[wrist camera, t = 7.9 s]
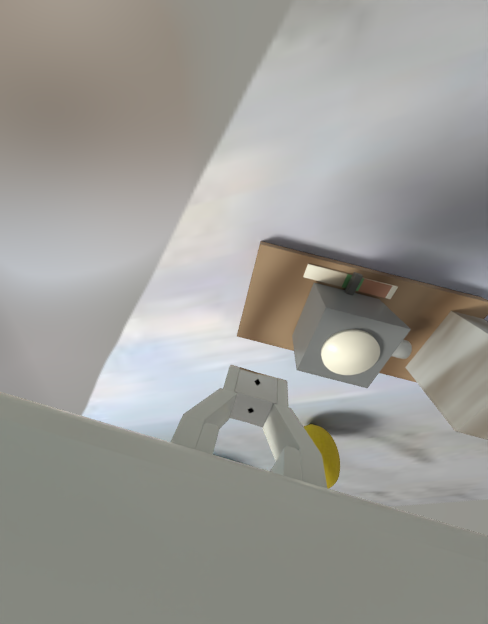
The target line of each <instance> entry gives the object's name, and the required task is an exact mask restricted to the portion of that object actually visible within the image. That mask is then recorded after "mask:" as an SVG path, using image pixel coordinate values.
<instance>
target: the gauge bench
mask: <svg viewBox="0 0 488 624" xmlns="http://www.w3.org/2000/svg"><path fill="white" fill-rule="evenodd" d="M354 272H356V273H360V274H362V275H363V278H362V280H361V281H360V283H359V285H358V287H357V289H356V291H355V293H357V294H361V295H365V296H369V297H373V298H377V299H380V300H381V301H382V302H383V303H384V304H385V305H386V306H387V307H388V308H389V309H390V310H391V311H392V312H393V313H394V314H395V315H396V316H398V317H399V318H400V319H401V320H402V321H403V322H404V323H405V324H406V325H407V326H408V327H409V328H410V329H411V330H410V331H409V333H408V334H407V335H406V337H405V338H404V339H403V340H406V341H409V342H410V344H411V346H412V351H411V354H410V356H409V357H408V358H406V359H401V358H397V357H393V356H391V357H390V358H389V360H388V361H387V362H386V364H385V365H384V366H383V368H382V369H381V371H380V372H379V373H382V374H386V375H390V376H394V377H398V378H402V379H406V380H409V381H413V382H417V383H418V384H419V386H420V387H421V388H422V389H423V391H424V392H425V393H426V395H427V396H428V397H429V398H430V400H431V401H432V402H433V403H434V405H435V406H436V407H437V409H438V410H439V411H440V412H441V414H442V415H443V416H444V418H445V419H446V420H447V421H448V423H449V424H450V425H451V426H452V428H453V429H454V430H455V431H456V432H460V433H464V434H468V435H471V436H475V437H479V438H483V439H487V440H488V321H486V320H485V319H484V318H485V317H486V316H487V315H488V300H486V299H484V298H482V297H478V296H474V295H471V294H467V293H463V292H459V291H455V290H451V289H447V288H443V287H439V286H435V285H431V284H427V283H423V282H419V281H416V280H412V279H408V278H404V277H400V276H396V275H392V274H388V273H384V272H380V271H376V270H372V269H368V268H364V267H361V266H357V265H353V264H349V263H345V262H341V261H337V260H333V259H329V258H325V257H321V256H317V255H313V254H309V253H306V252H302V251H298V250H294V249H290V248H286V247H282V246H278V245H274V244H270V243H266V242H262V241H261V242H260V246H259V250H258V254H257V258H256V262H255V266H254V270H253V274H252V278H251V282H250V286H249V290H248V294H247V298H246V302H245V306H244V310H243V314H242V318H241V322H240V325H239V329H238V333H237V336H238V337H242V338H246V339H250V340H254V341H258V342H261V343H265V344H269V345H273V346H277V347H281V348H285V349H289V350H293V351H294V346H293V339H292V335H293V332H294V330H295V327H296V325H297V323H298V320H299V318H300V315H301V313H302V310H303V308H304V305H305V303H306V301H307V298H308V296H309V293H310V291H311V288H312V286H313V284H314V283H318V284H322V285H326V286H330V287H334V288H338V289H342V290H345V289H346V287H347V285H348V283H349V281H350V279H351V277H352V275H353V273H354Z"/></svg>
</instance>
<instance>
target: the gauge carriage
mask: <svg viewBox="0 0 488 624" xmlns="http://www.w3.org/2000/svg"><path fill="white" fill-rule="evenodd" d="M362 278H363V275H362V274H360V273H356V272H354V273H353V275H352V277H351V279H350V281H349V283H348V285H347V287H346V289H345V290H342V289H338V288H334V287H330V286H326V285H322V284H318V283H314V284H313V286H312V288H311V291H310V293H309V296H308V298H307V301H306V303H305V305H304V308H303V310H302V313H301V315H300V318H299V320H298V323H297V325H296V327H295V330H294V332H293V335H292V339H293V346H294V354H295V361H296V368H297V370H298V371H302V372H306V373H310V374H314V375H318V376H322V377H326V378H330V379H333V380H337V381H341V382H345V383H349V384H353V385H357V386H361V387H365V388H368V387H369V385H370V384H371V383H372V381H373V380H374V379H375V377H376V376H377V375H378V373H379V372H380V371H381V369H382V368H383V366H384V365H385V364H386V362H387V361H388V360H389V358H390V357H391V356H393V357H397V358H401V359H406V358H408V357H409V356H410V354H411V351H412V346H411V344H410V342H409V341H406V340H403V339H404V338H405V337H406V335H407V334H408V333H409V331H410V330H411V329H410V328H409V327H408V326H407V325H406V324H405V323H404V322H403V321H402V320H401V319H400V318H399V317H398V316H396V315H395V314H394V313H393V312H392V311H391V310H390V309H389V308H388V307H387V306H386V305H385V304H384V303H383V302H382V301H381V300H380V299H377V298H373V297H369V296H365V295H361V294H357V293H355V291H356V289H357V287H358V285H359V283H360V281H361V280H362Z"/></svg>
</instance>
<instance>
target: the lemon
mask: <svg viewBox="0 0 488 624" xmlns="http://www.w3.org/2000/svg"><path fill="white" fill-rule="evenodd" d="M304 429H305V430H306V432H307V433H308V435H309V436H310V438H311V439H312V441H313V442H314V444H315V445H316V447H317V448H318V450H319V452H320V453H321V455H322V459H323V465H324V471H325V477H326V483H327V488H330V487H332V486H333V485H334V484H335V483H336V481H337V480H338V477H339V472H340V458H339V453H338V450H337V447H336V444H335V442H334V440H333V438H332V437H331V435H330V434H329V433H328V432H327V431H326V430H325V429H323V428H322V427H320V426H317V425H313V424H309V425H307V426H304Z"/></svg>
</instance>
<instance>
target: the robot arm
mask: <svg viewBox="0 0 488 624" xmlns="http://www.w3.org/2000/svg"><path fill="white" fill-rule="evenodd" d="M229 418H232V419H236V420H240V421H244V422H248V423H251V424H254V425H257V426H260V427H263V430H264V433H265V435H266V438H267V440H268V443H269V445H270V448H271V450H272V453H273V455H274V458H275V460H276V462H275V464H274V466H273V467H272V469H271V471H267V470H263V469H260V468H256V467H253V466H250V465H246V464H243V463H240V462H236V461H233V460H229V459H226V458H223V457H219V456H216V455H213V452H214V448H215V444H216V440H217V436H218V432H219V429H220V428H221V427H222V426H223V425H224V424H225V423H226V422H227V421H228V420H229ZM0 624H488V536H487V535H484V534H481V533H477V532H474V531H470V530H467V529H464V528H460V527H457V526H453V525H450V524H447V523H443V522H440V521H437V520H433V519H430V518H426V517H423V516H419V515H416V514H413V513H409V512H405V511H403V510H399V509H396V508H392V507H389V506H386V505H382V504H379V503H375V502H372V501H369V500H365V499H362V498H359V497H355V496H352V495H348V494H345V493H342V492H338V491H335V490H331V489H328V488H327V483H326V477H325V471H324V465H323V459H322V455H321V453H320V452H319V450H318V448H317V447H316V445H315V444H314V442H313V441H312V439H311V438H310V436H309V435H308V433H307V432H306V430H305V429H304V427H303V426H302V424H301V423H300V421H299V419H298V418H297V416H296V415H295V413H294V412H293V410H292V409H291V408H288V387H287V381H286V380H283V379H279V378H275V377H272V376H268V375H264V374H261V373H257V372H254V371H250V370H247V369H244V368H241V367H237V366H234V365H230V367H229V371H228V374H227V377H226V381H225V384H224V387H223V389H222V388H220V389H218V390H217V391H215V392H214V393H213V394H211V395H210V396H208V397H207V398H206V399H204V400H203V401H201V402H200V403H199V404H197V405H196V406H194V407H193V408H192V409H190V410H189V411H187V412H186V413H185V414H183V416H182V418H181V420H180V423H179V425H178V427H177V429H176V431H175V434H174V436H173V438H172V440H171V442H168V441H165V440H161V439H158V438H155V437H151V436H148V435H145V434H141V433H138V432H134V431H131V430H128V429H124V428H121V427H117V426H114V425H111V424H107V423H104V422H100V421H97V420H94V419H90V418H87V417H84V416H80V415H77V414H73V413H70V412H67V411H63V410H60V409H56V408H53V407H50V406H46V405H43V404H40V403H36V402H33V401H29V400H26V399H23V398H19V397H16V396H12V395H9V394H5V393H2V392H0Z"/></svg>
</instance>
